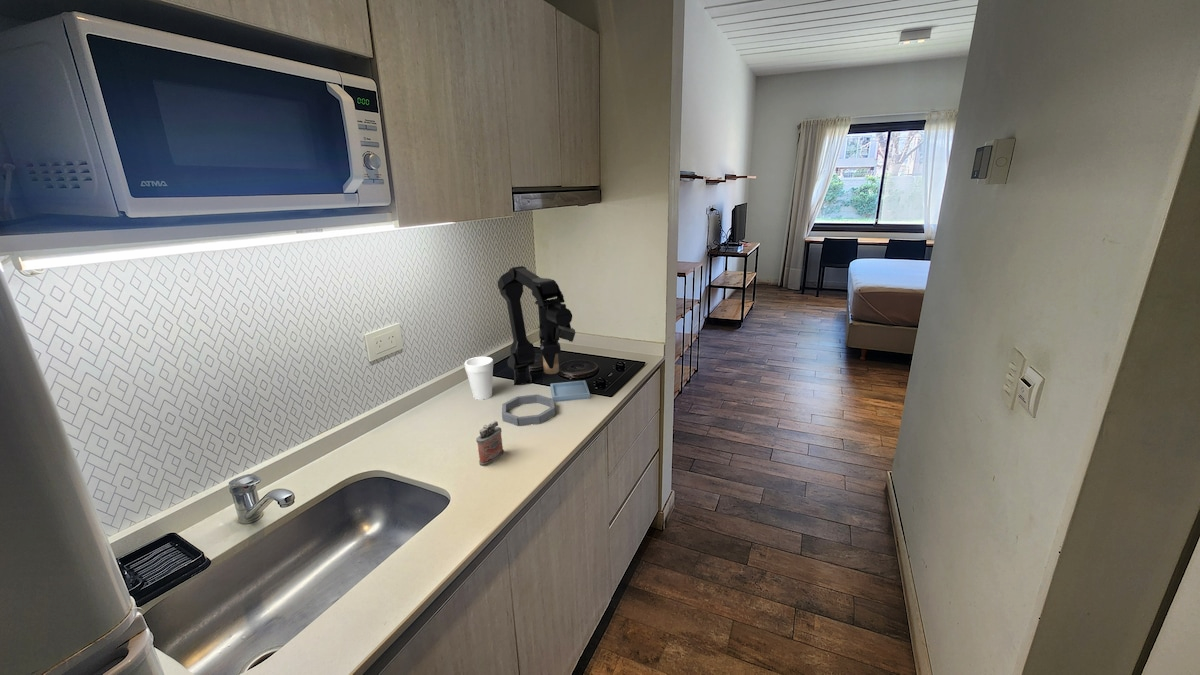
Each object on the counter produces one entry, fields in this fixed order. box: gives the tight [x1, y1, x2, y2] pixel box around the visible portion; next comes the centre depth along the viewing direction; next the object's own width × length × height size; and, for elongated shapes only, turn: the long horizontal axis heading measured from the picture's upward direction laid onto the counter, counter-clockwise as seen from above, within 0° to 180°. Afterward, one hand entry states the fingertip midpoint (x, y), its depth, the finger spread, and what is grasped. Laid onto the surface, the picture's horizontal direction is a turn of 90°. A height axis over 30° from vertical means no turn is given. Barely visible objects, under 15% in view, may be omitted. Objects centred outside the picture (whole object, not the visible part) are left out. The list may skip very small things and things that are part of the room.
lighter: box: [475, 420, 505, 467], centre depth 130 cm, size 8×3×10 cm, turn 148°
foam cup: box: [463, 356, 494, 401], centre depth 168 cm, size 10×9×13 cm
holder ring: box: [501, 393, 556, 427], centre depth 156 cm, size 16×16×2 cm
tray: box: [549, 380, 591, 403], centre depth 169 cm, size 12×13×2 cm
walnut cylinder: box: [542, 353, 560, 375], centre depth 160 cm, size 5×5×7 cm
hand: (551, 365), depth 160 cm, fingers closed on walnut cylinder, 5 cm apart
